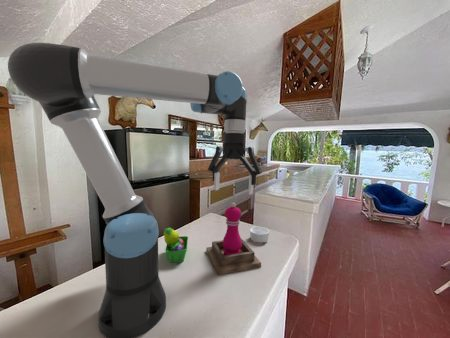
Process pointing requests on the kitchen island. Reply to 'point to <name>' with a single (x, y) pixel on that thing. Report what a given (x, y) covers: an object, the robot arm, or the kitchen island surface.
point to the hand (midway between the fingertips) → (233, 191)
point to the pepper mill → (232, 231)
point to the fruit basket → (175, 245)
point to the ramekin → (259, 234)
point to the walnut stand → (232, 258)
